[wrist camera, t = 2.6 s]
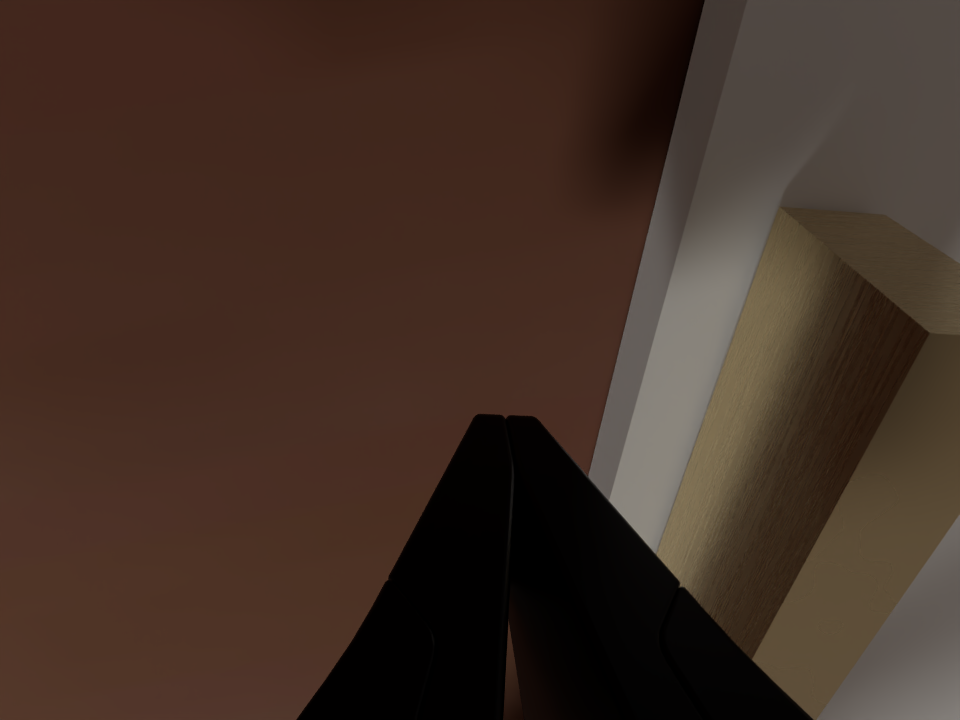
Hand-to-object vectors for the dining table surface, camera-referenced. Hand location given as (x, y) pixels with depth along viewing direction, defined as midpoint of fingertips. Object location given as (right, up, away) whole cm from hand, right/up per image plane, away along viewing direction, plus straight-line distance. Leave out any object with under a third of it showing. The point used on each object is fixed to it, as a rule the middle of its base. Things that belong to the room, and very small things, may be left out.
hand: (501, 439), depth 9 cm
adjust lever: (+4, -4, +5) cm, 7 cm away
